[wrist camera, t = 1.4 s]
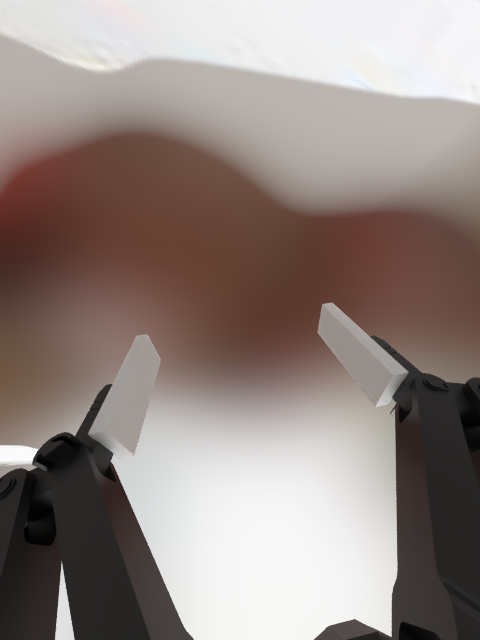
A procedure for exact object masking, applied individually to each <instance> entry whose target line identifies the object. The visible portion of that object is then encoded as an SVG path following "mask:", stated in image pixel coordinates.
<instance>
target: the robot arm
mask: <svg viewBox="0 0 480 640" xmlns="http://www.w3.org/2000/svg"><path fill="white" fill-rule="evenodd" d="M318 333H319V335H320V336H321V337H322V339H323V340H324V341H325V343H326V344H327V345H328V347H329V348H330V349H331V350H332V352H333V353H334V354H335V356H336V357H337V358H338V360H339V361H340V362H341V363H342V365H343V366H344V367H345V369H346V370H347V371H348V373H349V374H350V375H351V376H352V378H353V379H354V380H355V382H356V383H357V384H358V386H359V387H360V388H361V390H362V391H363V392H364V393H365V395H366V396H367V397H368V399H369V400H370V401H371V402H372V404H373V405H374V406H375V407H377V406H382V405H387V404H389V402H390V401H391V399H392V398H393V399H394V401H395V402H396V403H397V404H396V405H395V407H394V408H393V409H392V411H391V413H390V415H392V416H393V414H394V413H395V431H396V492H397V493H396V494H397V557H398V558H397V559H398V572H397V579H396V582H395V585H394V587H393V593H392V637H390V636H388V635H386V634H384V633H382V632H380V631H378V630H376V629H374V628H372V627H369V626H367V625H365V624H363V623H361V622H359V621H357V620H355V619H354V620H350V621H346V622H342V623H338V624H335V625H331V626H328V627H327V628H326V629H325V630H324V631H323V632H322V633H321V634H320V635H319V636H317V637H316V638H315V639H314V640H480V378H471V379H469V380H468V381H467V382H466V383H465V384H460V383H449V382H445V381H444V380H442V379H441V378H439V377H437V376H434V375H431V374H426V373H422V372H420V371H419V370H418V369H417V368H415V367H414V366H413V365H412V364H411V363H410V362H409V361H407V360H406V359H405V358H404V357H403V356H401V355H400V354H399V353H397V351H396V350H394V349H393V348H391V346H390V345H389V344H388V343H386V342H385V341H384V340H382V339H380V338H378V337H376V336H371V337H369V336H368V335H367V334H366V333H365V332H364V331H363V330H362V329H361V328H360V327H358V326H357V325H356V324H355V323H354V322H353V321H352V320H351V319H350V318H349V317H347V316H346V315H345V314H344V313H343V312H342V311H341V310H340V309H338V307H336V306H335V305H334V304H333V303H327V304H323V305H322V310H321V316H320V322H319V328H318ZM160 361H161V359H160V358H159V356H158V354H157V352H156V350H155V348H154V346H153V344H152V342H151V340H150V338H149V336H148V334H145V335H139V336H136V338H135V340H134V342H133V344H132V346H131V348H130V350H129V352H128V354H127V356H126V358H125V360H124V362H123V364H122V366H121V368H120V370H119V372H118V374H117V377H116V378H115V380H114V383H113V384H109V385H106V386H105V387H104V388H103V389H102V390H101V391H100V392H99V393H98V395H97V397H96V399H95V401H94V404H92V406H91V408H90V411H89V412H88V414H87V415H86V417H85V419H84V421H83V423H82V425H81V426H80V428H79V430H78V432H77V434H76V436H73V435H72V434H70V433H67V432H64V433H61V434H58V435H56V436H54V437H52V438H51V439H49V440H48V441H47V442H46V443H45V444H43V446H42V447H41V448H40V449H39V450H38V451H37V453H36V455H35V457H34V458H33V463H32V465H34V466H36V467H37V468H35V469H33V470H31V471H27V470H25V469H23V468H20V469H15V470H13V471H10V472H9V473H7V474H6V475H4V476H3V477H1V478H0V640H55V631H56V619H57V607H58V597H59V585H60V572H61V562H62V564H63V570H64V576H65V583H66V589H67V595H68V601H69V607H70V614H71V620H72V626H73V631H74V638H75V640H194V639H193V638H192V637H191V636H190V634H189V633H188V632H187V631H186V630H185V628H184V626H183V624H182V622H181V620H180V618H179V616H178V613H177V611H176V609H175V606H174V604H173V602H172V599H171V597H170V595H169V592H168V590H167V588H166V586H165V583H164V581H163V579H162V576H161V574H160V572H159V569H158V567H157V565H156V562H155V560H154V558H153V555H152V553H151V551H150V548H149V546H148V544H147V541H146V539H145V537H144V535H143V532H142V530H141V528H140V525H139V523H138V521H137V519H136V516H135V514H134V512H133V509H132V507H131V505H130V502H129V500H128V498H127V495H126V493H125V491H124V489H123V486H122V484H121V482H120V479H119V477H118V475H117V472H116V470H115V468H114V466H113V464H112V463H111V459H112V456H113V454H114V455H115V456H116V457H118V458H124V457H129V456H133V455H134V454H135V450H136V447H137V443H138V440H139V436H140V433H141V429H142V425H143V422H144V418H145V414H146V411H147V408H148V404H149V401H150V397H151V393H152V389H153V386H154V382H155V379H156V375H157V372H158V369H159V365H160Z"/></svg>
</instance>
